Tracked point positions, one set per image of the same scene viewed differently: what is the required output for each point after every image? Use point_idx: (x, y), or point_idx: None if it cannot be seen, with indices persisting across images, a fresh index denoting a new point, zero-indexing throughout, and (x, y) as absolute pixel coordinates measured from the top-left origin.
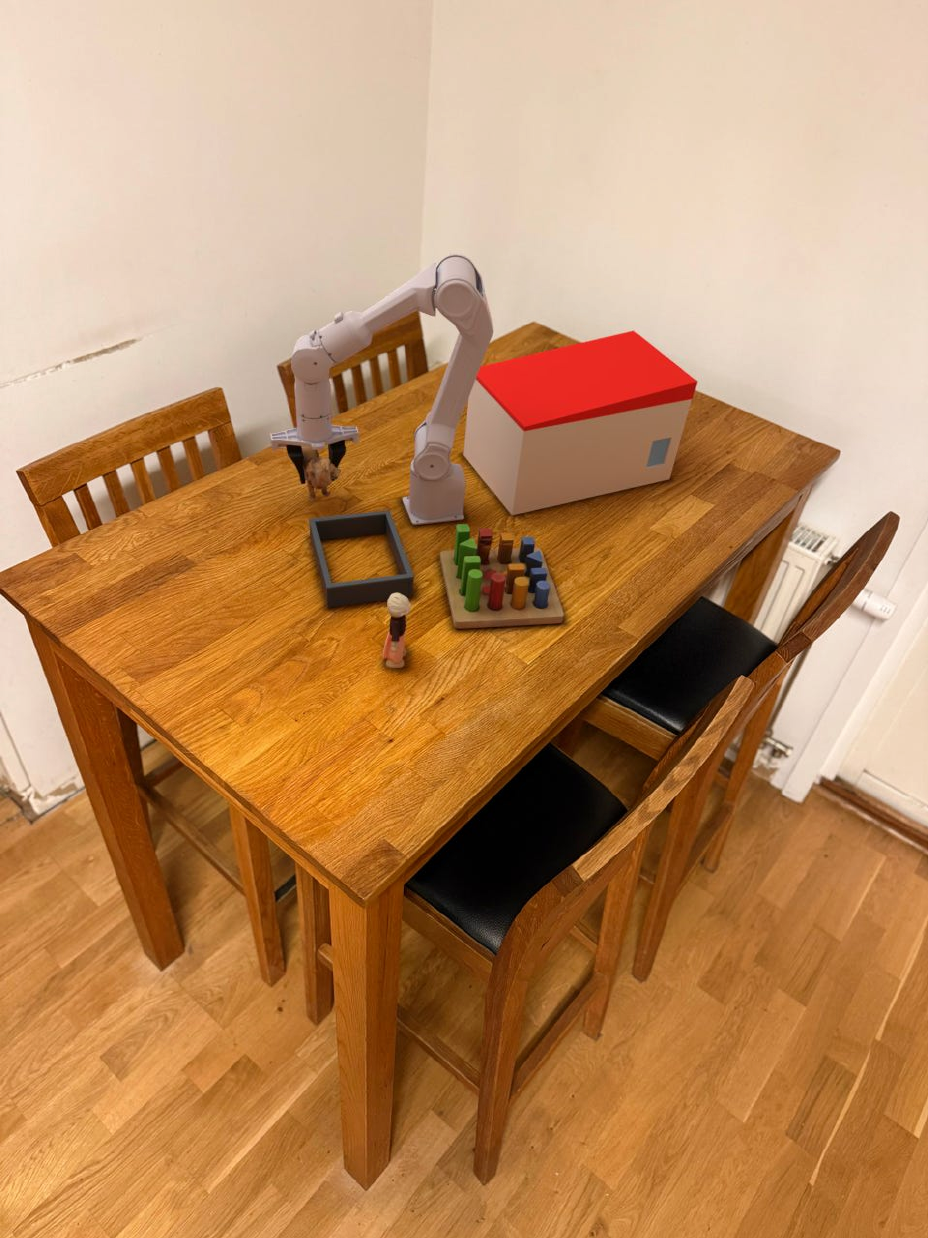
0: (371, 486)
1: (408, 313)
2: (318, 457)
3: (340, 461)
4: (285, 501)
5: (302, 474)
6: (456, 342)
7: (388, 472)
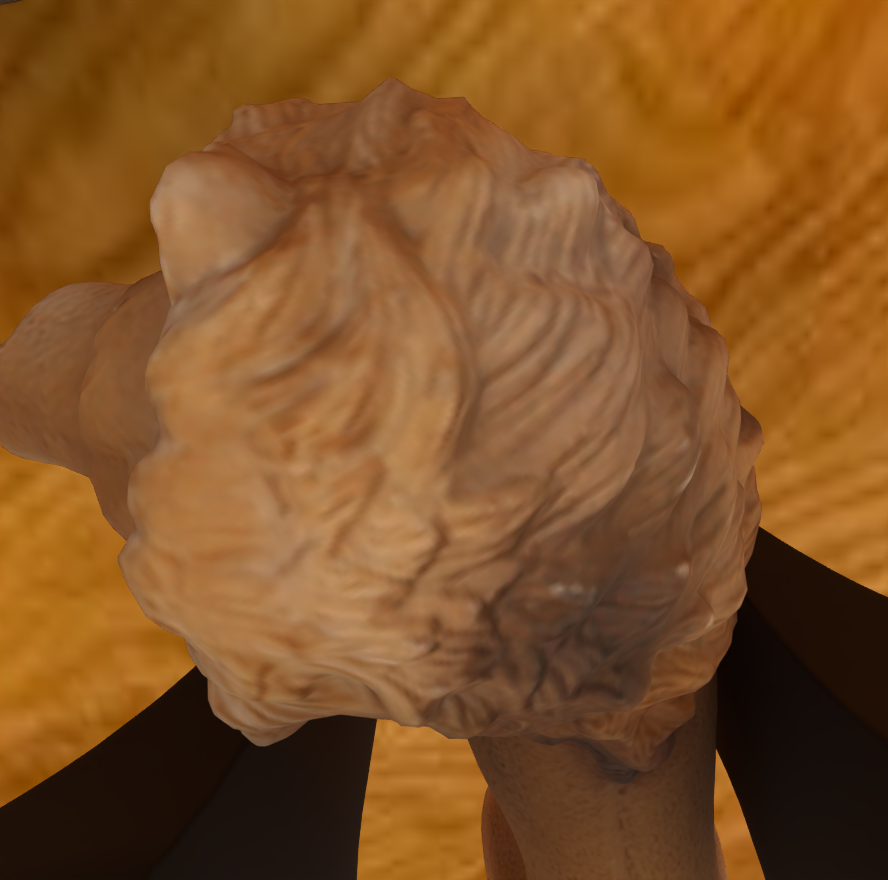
0: (109, 615)
1: None
2: (492, 826)
3: (129, 723)
4: None
5: None
6: None
7: (23, 741)
